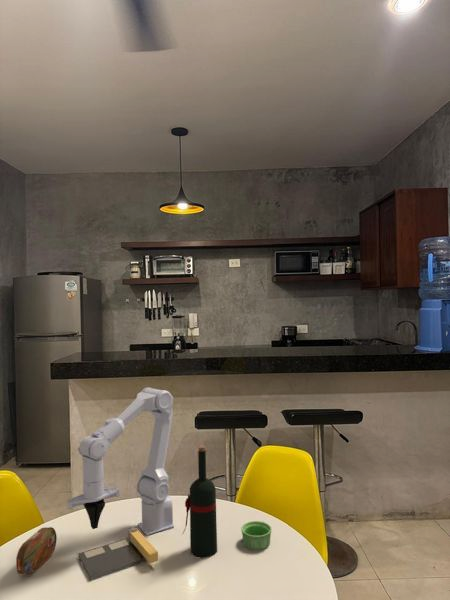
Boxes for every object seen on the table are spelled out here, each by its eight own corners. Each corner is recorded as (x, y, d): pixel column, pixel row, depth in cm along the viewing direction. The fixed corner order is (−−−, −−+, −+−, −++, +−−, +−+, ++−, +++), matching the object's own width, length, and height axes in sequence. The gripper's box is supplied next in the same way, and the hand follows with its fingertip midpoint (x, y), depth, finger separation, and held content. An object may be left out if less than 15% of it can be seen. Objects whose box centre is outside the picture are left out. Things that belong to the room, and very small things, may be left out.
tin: (24, 582, 114) (24, 550, 114) (13, 581, 115) (13, 549, 115) (57, 550, 129) (57, 521, 129) (48, 549, 129) (47, 521, 129)
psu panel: (135, 538, 134) (135, 534, 134) (151, 559, 123) (151, 554, 123) (78, 556, 125) (78, 551, 125) (90, 580, 114) (90, 575, 114)
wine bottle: (185, 541, 132) (183, 442, 132) (219, 543, 131) (217, 442, 131) (179, 557, 124) (177, 450, 124) (215, 558, 123) (213, 451, 123)
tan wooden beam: (127, 537, 132) (126, 529, 132) (135, 534, 133) (135, 526, 133) (149, 563, 118) (149, 555, 118) (158, 560, 120) (158, 551, 120)
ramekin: (244, 533, 136) (243, 519, 136) (273, 536, 134) (272, 522, 134) (239, 549, 127) (238, 534, 127) (270, 552, 126) (269, 537, 126)
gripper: (113, 469, 133) (114, 514, 132) (63, 480, 125) (64, 528, 125) (121, 476, 127) (122, 524, 126) (69, 489, 119) (70, 539, 119)
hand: (94, 527), depth 125 cm, fingers closed
